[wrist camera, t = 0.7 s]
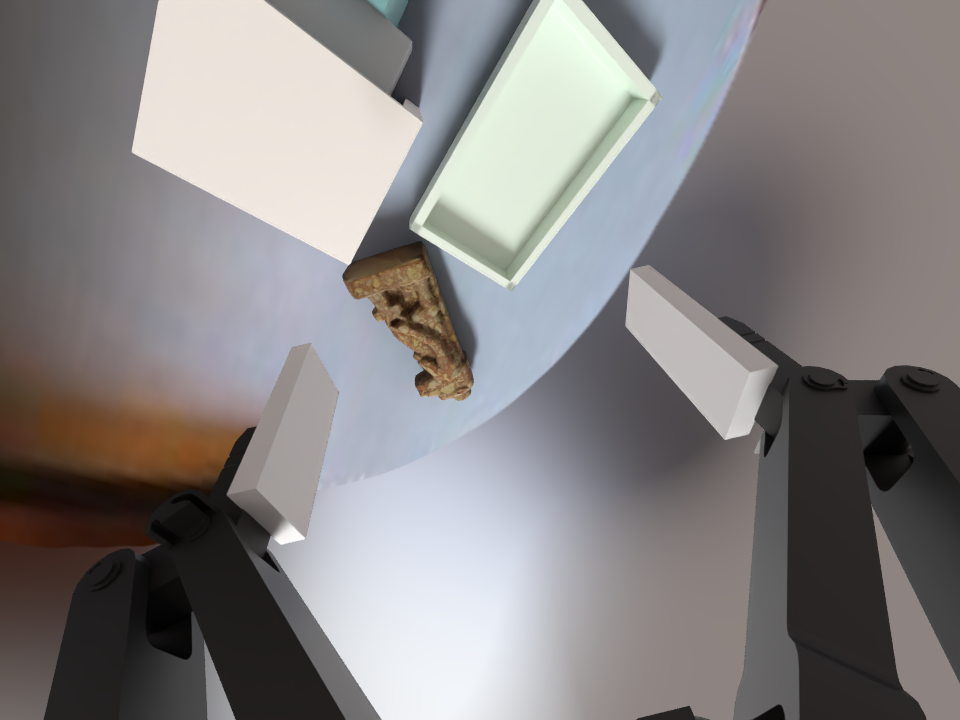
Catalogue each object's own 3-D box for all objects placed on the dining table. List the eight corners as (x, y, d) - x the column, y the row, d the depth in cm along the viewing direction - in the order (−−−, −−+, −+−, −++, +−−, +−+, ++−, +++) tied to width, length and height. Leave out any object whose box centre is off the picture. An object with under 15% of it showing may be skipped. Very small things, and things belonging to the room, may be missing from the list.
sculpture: (422, 237, 36) (424, 256, 32) (475, 376, 48) (481, 403, 44) (344, 263, 37) (337, 285, 33) (415, 395, 48) (416, 423, 44)
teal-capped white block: (269, 118, 29) (198, 137, 19) (349, -125, 22) (304, -275, 13) (355, 173, 32) (330, 213, 22) (447, -26, 25) (468, -89, 16)
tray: (409, 218, 35) (409, 229, 32) (543, -19, 26) (557, -30, 24) (505, 278, 40) (511, 291, 37) (643, 95, 31) (662, 96, 29)
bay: (229, 127, 29) (131, 152, 19) (269, -10, 25) (171, -71, 15) (367, 210, 34) (349, 265, 24) (419, 108, 30) (422, 122, 20)
